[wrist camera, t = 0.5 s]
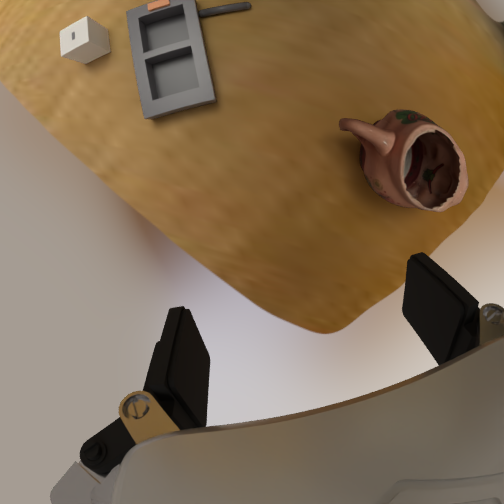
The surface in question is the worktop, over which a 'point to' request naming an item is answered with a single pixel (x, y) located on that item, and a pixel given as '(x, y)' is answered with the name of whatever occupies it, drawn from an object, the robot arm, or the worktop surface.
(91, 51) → the block
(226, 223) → the worktop surface
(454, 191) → the decorative planter
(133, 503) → the robot arm
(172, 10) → the power strip
